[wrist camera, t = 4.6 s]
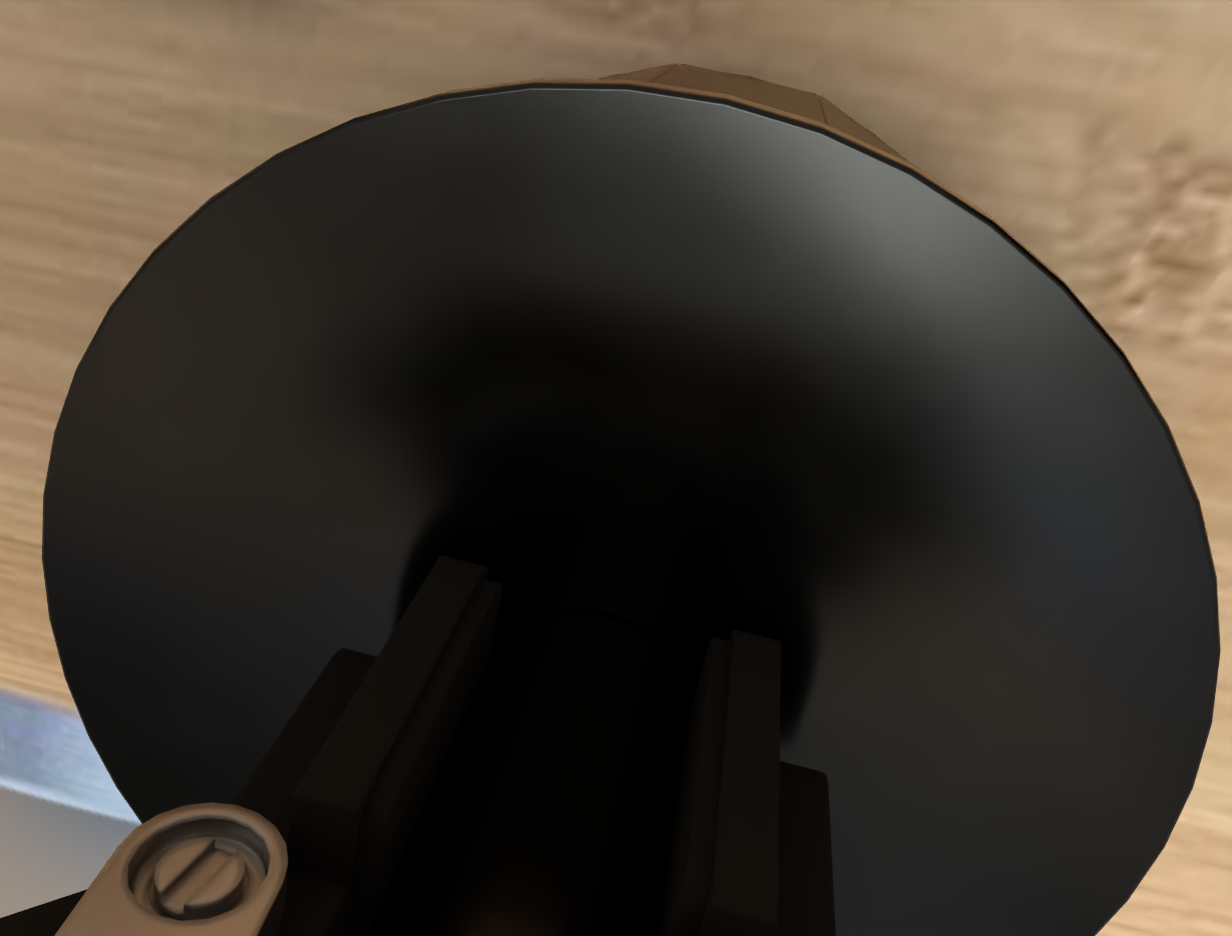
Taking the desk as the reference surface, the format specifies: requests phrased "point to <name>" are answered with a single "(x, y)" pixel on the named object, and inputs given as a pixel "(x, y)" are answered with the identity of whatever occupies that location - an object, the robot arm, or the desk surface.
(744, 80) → the trash can
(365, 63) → the desk surface
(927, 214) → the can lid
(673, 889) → the robot arm
